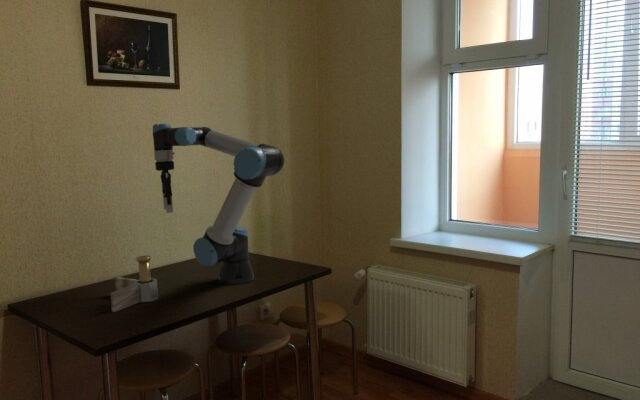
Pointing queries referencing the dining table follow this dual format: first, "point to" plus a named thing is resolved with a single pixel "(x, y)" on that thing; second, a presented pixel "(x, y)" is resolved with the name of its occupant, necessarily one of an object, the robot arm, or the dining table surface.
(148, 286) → the knuckle barrel
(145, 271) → the hinge pin
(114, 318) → the dining table surface
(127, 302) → the hinge leaves
